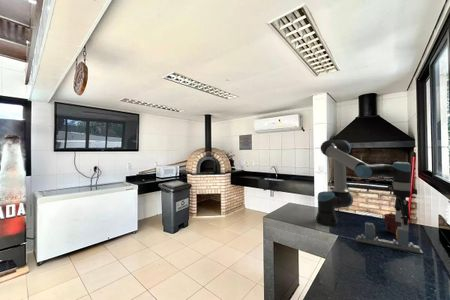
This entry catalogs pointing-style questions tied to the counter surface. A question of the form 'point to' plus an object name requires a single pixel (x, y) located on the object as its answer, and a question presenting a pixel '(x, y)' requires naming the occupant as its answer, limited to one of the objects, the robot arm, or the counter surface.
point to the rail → (385, 243)
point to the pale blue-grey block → (402, 237)
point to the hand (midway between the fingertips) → (401, 225)
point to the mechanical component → (391, 223)
